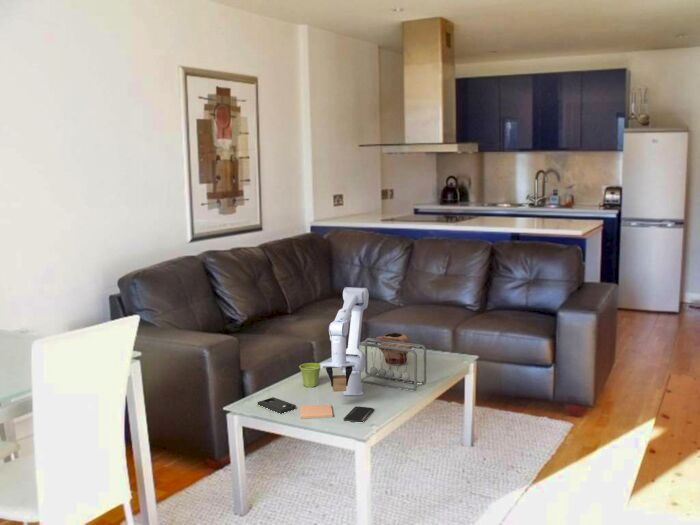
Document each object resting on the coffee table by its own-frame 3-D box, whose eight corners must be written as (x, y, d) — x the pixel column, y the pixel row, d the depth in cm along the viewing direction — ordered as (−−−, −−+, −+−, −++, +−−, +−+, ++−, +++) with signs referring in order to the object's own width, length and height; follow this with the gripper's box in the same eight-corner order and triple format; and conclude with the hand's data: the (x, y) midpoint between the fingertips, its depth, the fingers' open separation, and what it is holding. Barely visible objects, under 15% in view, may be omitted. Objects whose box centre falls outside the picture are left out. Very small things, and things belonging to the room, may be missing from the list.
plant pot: (318, 389, 307) (318, 369, 306) (297, 388, 309) (296, 368, 307) (324, 382, 316) (323, 363, 315) (303, 381, 318) (302, 362, 317)
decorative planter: (368, 363, 345) (368, 334, 343) (379, 357, 355) (379, 329, 353) (406, 368, 335) (406, 339, 333) (417, 362, 346) (417, 333, 344)
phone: (374, 408, 281) (362, 421, 267) (374, 410, 281) (362, 424, 267) (355, 406, 284) (342, 419, 270) (355, 408, 284) (342, 421, 270)
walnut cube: (332, 387, 287) (332, 375, 286) (345, 387, 287) (345, 375, 286) (333, 391, 282) (333, 379, 281) (346, 391, 282) (346, 378, 281)
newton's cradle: (354, 381, 317) (353, 342, 315) (365, 375, 326) (365, 336, 324) (416, 392, 302) (416, 350, 299) (426, 385, 311) (426, 344, 308)
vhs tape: (296, 409, 283) (296, 405, 283) (281, 415, 278) (280, 410, 278) (273, 401, 293) (273, 397, 293) (257, 406, 288) (257, 401, 287)
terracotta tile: (300, 407, 284) (300, 405, 284) (330, 406, 285) (330, 404, 285) (300, 418, 272) (300, 416, 272) (332, 417, 273) (332, 415, 273)
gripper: (320, 355, 278) (321, 389, 280) (358, 353, 279) (358, 387, 281) (319, 350, 285) (320, 383, 287) (356, 349, 286) (356, 382, 288)
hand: (339, 385), depth 284 cm, fingers closed on walnut cube, 5 cm apart
